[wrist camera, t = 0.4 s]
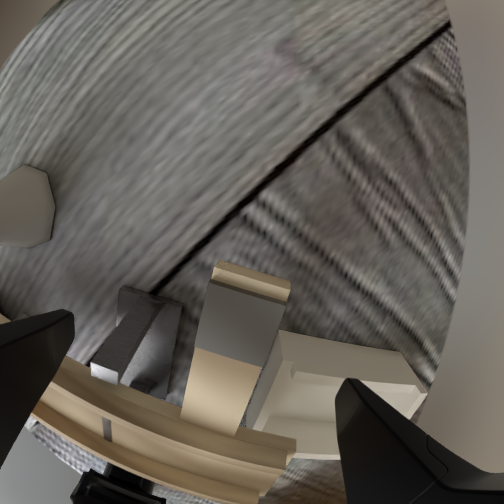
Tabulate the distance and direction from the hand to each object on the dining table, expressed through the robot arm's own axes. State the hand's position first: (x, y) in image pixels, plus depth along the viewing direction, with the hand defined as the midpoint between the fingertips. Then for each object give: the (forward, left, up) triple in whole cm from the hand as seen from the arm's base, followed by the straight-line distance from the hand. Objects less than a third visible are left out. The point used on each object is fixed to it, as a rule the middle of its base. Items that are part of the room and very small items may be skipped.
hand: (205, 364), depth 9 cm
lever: (-6, +5, -7) cm, 10 cm away
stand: (-10, +5, -13) cm, 17 cm away
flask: (-1, +18, -13) cm, 22 cm away
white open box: (-10, -11, -13) cm, 20 cm away
